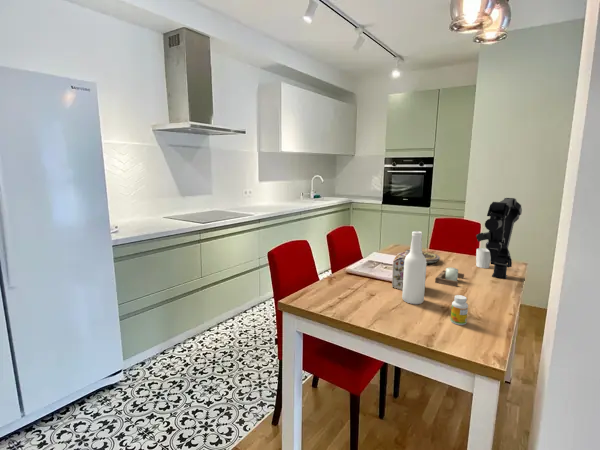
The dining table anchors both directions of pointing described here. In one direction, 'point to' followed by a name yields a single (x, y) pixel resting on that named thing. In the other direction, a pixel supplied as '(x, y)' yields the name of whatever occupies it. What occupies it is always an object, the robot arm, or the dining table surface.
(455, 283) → the dock
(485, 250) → the white cup
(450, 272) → the white rounded canister
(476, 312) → the dining table surface
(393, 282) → the decorative jar
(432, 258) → the pie
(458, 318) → the supplement bottle
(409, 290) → the alcohol
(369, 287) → the dining table surface
